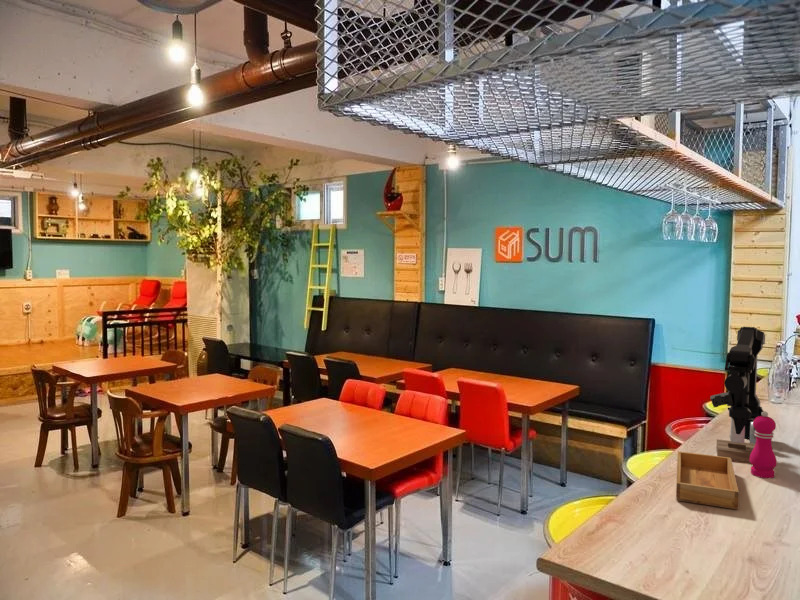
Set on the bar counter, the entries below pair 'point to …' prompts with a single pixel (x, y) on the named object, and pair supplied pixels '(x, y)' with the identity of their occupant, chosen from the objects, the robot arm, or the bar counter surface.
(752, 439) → the round bit
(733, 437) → the square bit
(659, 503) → the bar counter surface
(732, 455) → the bore block
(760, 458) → the pepper mill
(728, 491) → the tray
